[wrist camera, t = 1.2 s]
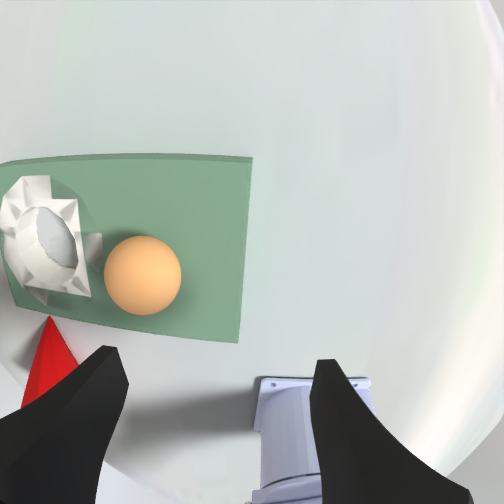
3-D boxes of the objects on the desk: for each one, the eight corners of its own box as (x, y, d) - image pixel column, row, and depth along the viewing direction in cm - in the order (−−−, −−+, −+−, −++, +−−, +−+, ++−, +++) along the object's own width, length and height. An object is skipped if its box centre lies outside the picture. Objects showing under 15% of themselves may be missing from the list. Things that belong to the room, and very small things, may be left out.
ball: (188, 226, 16) (167, 260, 12) (189, 292, 18) (173, 336, 14) (119, 222, 16) (84, 252, 12) (126, 285, 17) (98, 324, 14)
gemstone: (-4, 307, 21) (11, 403, 20) (18, 329, 16) (42, 446, 16) (70, 303, 28) (78, 388, 28) (113, 318, 24) (122, 420, 24)
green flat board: (252, 157, 17) (251, 163, 14) (240, 320, 21) (238, 343, 19) (10, 161, 17) (-12, 168, 14) (31, 290, 21) (16, 305, 19)
